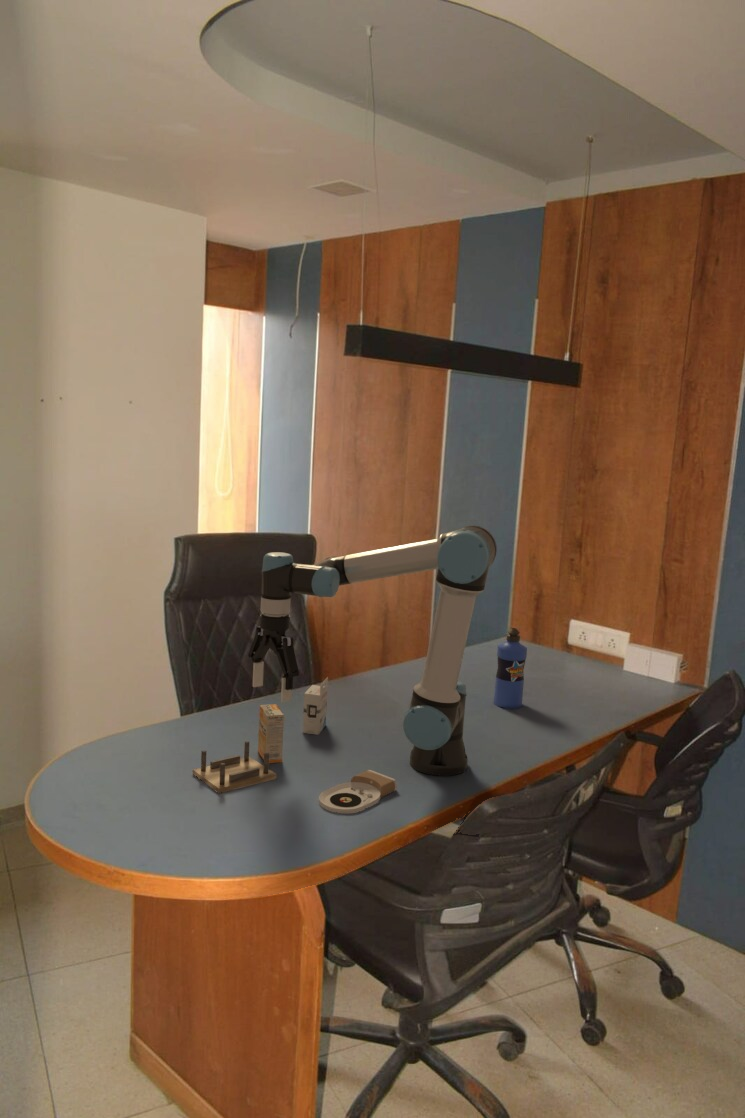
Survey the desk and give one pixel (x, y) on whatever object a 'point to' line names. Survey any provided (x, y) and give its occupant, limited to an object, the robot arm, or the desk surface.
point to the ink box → (315, 708)
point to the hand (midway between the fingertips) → (271, 693)
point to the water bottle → (510, 672)
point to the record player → (357, 792)
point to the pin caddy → (234, 771)
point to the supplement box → (271, 732)
